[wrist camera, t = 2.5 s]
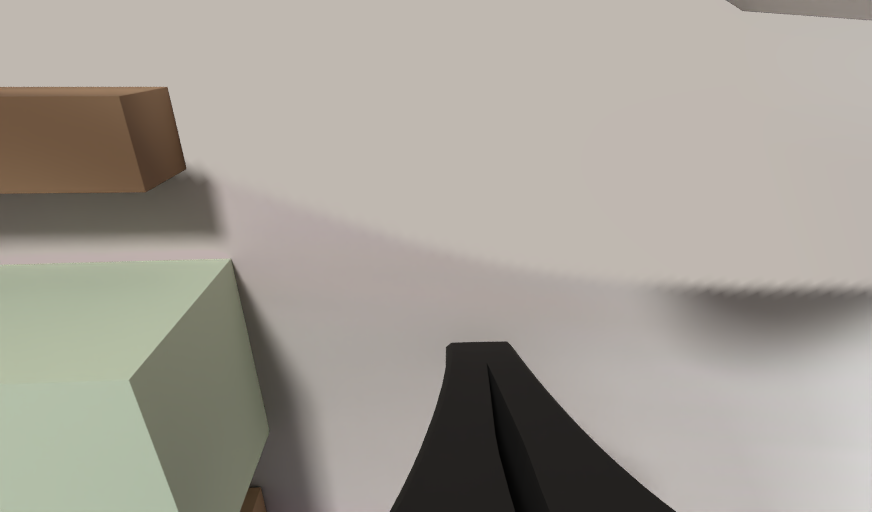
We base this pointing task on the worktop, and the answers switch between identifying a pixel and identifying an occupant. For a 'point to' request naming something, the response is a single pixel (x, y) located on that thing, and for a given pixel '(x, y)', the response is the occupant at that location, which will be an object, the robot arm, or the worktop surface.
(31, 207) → the worktop surface
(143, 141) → the twin wooden rails
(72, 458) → the block
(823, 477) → the worktop surface
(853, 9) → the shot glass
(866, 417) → the worktop surface
